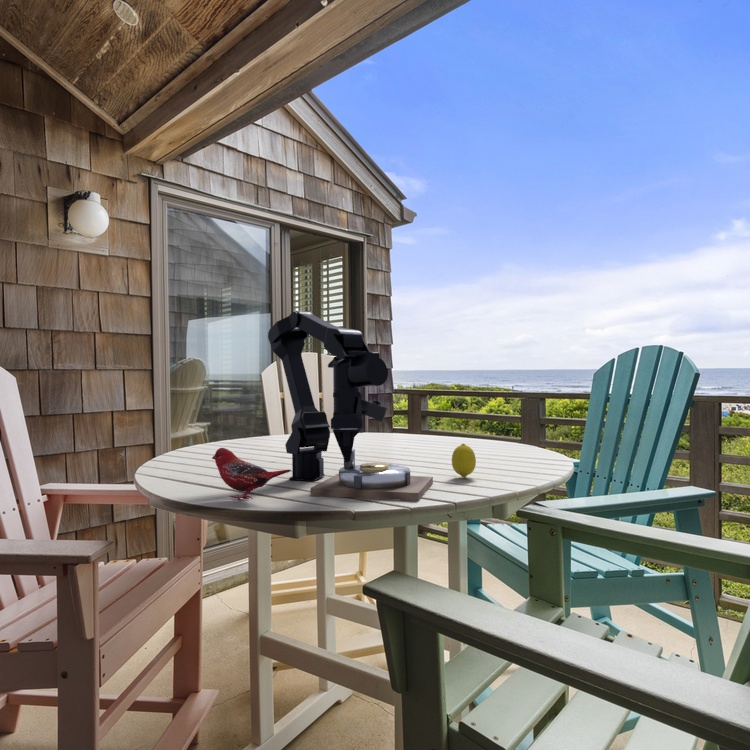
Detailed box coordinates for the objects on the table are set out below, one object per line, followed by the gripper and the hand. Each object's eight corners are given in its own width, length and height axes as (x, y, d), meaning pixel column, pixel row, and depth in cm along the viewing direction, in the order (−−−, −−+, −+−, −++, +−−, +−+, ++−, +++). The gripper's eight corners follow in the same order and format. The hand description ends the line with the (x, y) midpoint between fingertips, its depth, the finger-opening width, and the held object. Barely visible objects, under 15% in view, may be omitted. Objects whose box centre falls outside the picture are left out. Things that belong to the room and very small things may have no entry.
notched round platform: (422, 477, 111) (421, 447, 111) (393, 491, 97) (393, 457, 97) (358, 473, 118) (358, 445, 118) (323, 485, 104) (323, 453, 104)
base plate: (310, 495, 102) (310, 488, 102) (339, 479, 118) (338, 473, 118) (418, 500, 96) (418, 493, 96) (432, 483, 112) (432, 476, 113)
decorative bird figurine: (216, 495, 103) (215, 446, 103) (295, 501, 97) (294, 448, 98) (207, 499, 100) (207, 448, 100) (288, 504, 95) (287, 450, 95)
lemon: (474, 475, 121) (474, 442, 121) (477, 480, 116) (476, 445, 116) (451, 475, 122) (450, 442, 122) (452, 480, 116) (452, 445, 116)
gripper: (387, 385, 99) (388, 466, 98) (382, 389, 118) (383, 456, 117) (330, 386, 99) (331, 467, 98) (334, 389, 118) (334, 457, 117)
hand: (347, 461), depth 107 cm, fingers closed
